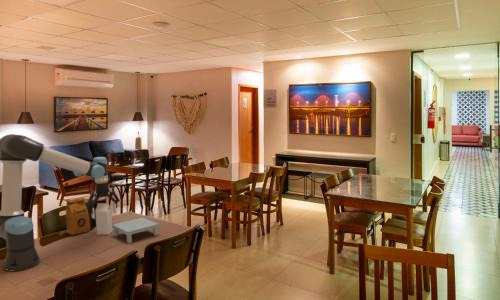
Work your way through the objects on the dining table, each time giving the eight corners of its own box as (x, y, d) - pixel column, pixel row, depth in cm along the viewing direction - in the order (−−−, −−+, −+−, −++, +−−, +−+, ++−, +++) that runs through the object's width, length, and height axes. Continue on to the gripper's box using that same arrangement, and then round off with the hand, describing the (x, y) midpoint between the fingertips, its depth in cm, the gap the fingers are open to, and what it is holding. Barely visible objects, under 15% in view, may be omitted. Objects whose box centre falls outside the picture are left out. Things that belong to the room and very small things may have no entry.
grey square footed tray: (128, 243, 209) (127, 232, 208) (112, 235, 223) (112, 224, 222) (159, 235, 223) (158, 224, 222) (142, 228, 237) (142, 217, 236)
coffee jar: (110, 221, 251) (108, 196, 249) (102, 226, 241) (100, 200, 239) (95, 221, 252) (93, 196, 250) (87, 226, 242) (85, 199, 240)
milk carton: (108, 234, 225) (106, 204, 223) (96, 234, 225) (94, 204, 223) (112, 231, 232) (111, 201, 230) (101, 231, 232) (99, 201, 230)
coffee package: (92, 231, 231) (89, 197, 228) (71, 237, 222) (68, 201, 219) (85, 228, 238) (83, 195, 235) (65, 233, 229) (63, 199, 226)
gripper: (83, 186, 213) (86, 221, 216) (123, 179, 231) (126, 212, 233) (78, 184, 219) (81, 219, 221) (118, 178, 236) (120, 210, 239)
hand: (104, 215), depth 227 cm, fingers open, 13 cm apart
